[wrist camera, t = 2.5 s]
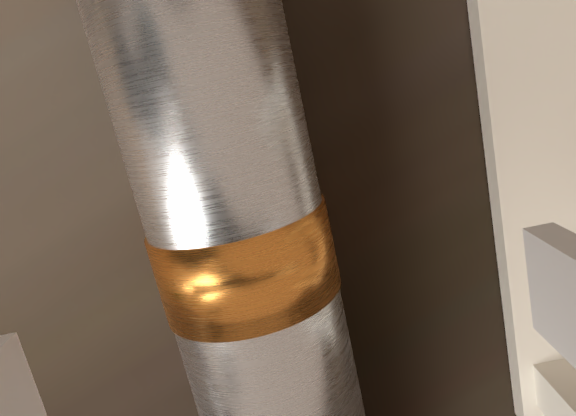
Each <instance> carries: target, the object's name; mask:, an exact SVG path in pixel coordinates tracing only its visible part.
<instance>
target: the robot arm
mask: <svg viewBox="0 0 576 416" xmlns="http://www.w3.org/2000/svg"><path fill="white" fill-rule="evenodd" d="M522 230H523V239H524V248H525V257H526V266H527V275H528V284H529V293H530V303H531V312H532V321H533V328H534V329H535V330H536V331H537V332H538V333H539V334H540V335H541V336H542V337H543V338H544V339H545V340H546V341H547V342H548V343H549V344H550V345H551V346H552V347H553V348H554V349H556V350H557V351H558V352H559V353H560V354H561V355H562V356H563V357H564V358H565V359H566V360H567V361H568V362H569V363H570V364H571V365H572V366H573V367H574V368H575V369H576V234H575V233H573V232H572V231H570V230H568V229H566V228H564V227H562V226H560V225H558V224H556V223H554V222H551V223H546V224H541V225H537V226H532V227H527V228H522ZM0 416H47V414H46V411H45V408H44V406H43V403H42V400H41V398H40V395H39V392H38V390H37V387H36V384H35V381H34V379H33V376H32V373H31V371H30V368H29V365H28V363H27V360H26V357H25V354H24V352H23V349H22V346H21V344H20V341H19V338H18V336H17V333H16V332H15V333H10V334H5V335H0Z"/></svg>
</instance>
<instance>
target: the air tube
mask: <svg viewBox="0 0 576 416" xmlns="http://www.w3.org/2000/svg"><path fill="white" fill-rule="evenodd" d="M76 2H77V6H78V9H79V12H80V16H81V19H82V22H83V26H84V29H85V33H86V36H87V39H88V43H89V46H90V49H91V53H92V56H93V60H94V63H95V66H96V70H97V73H98V76H99V80H100V83H101V87H102V90H103V93H104V97H105V100H106V103H107V107H108V110H109V113H110V117H111V120H112V124H113V127H114V130H115V134H116V137H117V140H118V144H119V147H120V151H121V154H122V157H123V161H124V164H125V167H126V171H127V174H128V177H129V181H130V184H131V188H132V191H133V194H134V198H135V201H136V204H137V208H138V211H139V215H140V218H141V221H142V225H143V228H144V231H145V235H146V237H145V240H144V243H145V246H146V249H147V253H148V256H149V259H150V263H151V266H152V269H153V273H154V276H155V279H156V283H157V286H158V289H159V293H160V296H161V300H162V303H163V306H164V310H165V313H166V316H167V320H168V323H169V326H170V328H171V330H172V331H173V332H174V333H175V336H176V339H177V343H178V346H179V349H180V353H181V356H182V359H183V363H184V366H185V370H186V373H187V376H188V380H189V383H190V386H191V390H192V393H193V397H194V400H195V403H196V407H197V410H198V413H199V416H365V411H364V406H363V401H362V396H361V391H360V386H359V381H358V376H357V371H356V366H355V361H354V356H353V351H352V346H351V341H350V336H349V331H348V326H347V322H346V317H345V312H344V307H343V302H342V297H341V292H340V287H341V278H340V273H339V268H338V263H337V258H336V253H335V248H334V243H333V238H332V233H331V228H330V223H329V218H328V213H327V208H326V203H325V198H324V196H323V195H322V194H321V193H320V188H319V183H318V178H317V173H316V168H315V163H314V158H313V153H312V148H311V143H310V139H309V134H308V129H307V124H306V119H305V114H304V109H303V104H302V99H301V94H300V89H299V84H298V79H297V74H296V69H295V64H294V59H293V54H292V50H291V45H290V40H289V35H288V30H287V25H286V20H285V15H284V10H283V5H282V0H76Z"/></svg>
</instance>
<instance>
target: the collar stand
mask: <svg viewBox="0 0 576 416" xmlns="http://www.w3.org/2000/svg"><path fill="white" fill-rule="evenodd" d="M467 8H468V16H469V25H470V33H471V42H472V50H473V59H474V68H475V76H476V85H477V93H478V102H479V110H480V119H481V127H482V136H483V145H484V153H485V162H486V170H487V179H488V187H489V196H490V204H491V213H492V222H493V230H494V239H495V247H496V256H497V264H498V273H499V281H500V290H501V299H502V307H503V316H504V324H505V333H506V341H507V350H508V358H509V367H510V376H511V384H512V393H513V401H514V410H515V414H516V415H517V416H576V369H575V368H574V367H573V366H572V365H571V364H570V363H569V362H568V361H567V360H566V359H565V358H564V357H563V356H562V355H561V354H560V353H559V352H558V351H557V350H556V349H554V348H553V347H552V346H551V345H550V344H549V343H548V342H547V341H546V340H545V339H544V338H543V337H542V336H541V335H540V334H539V333H538V332H537V331H536V330H535V329H534V328H533V321H532V312H531V303H530V293H529V284H528V275H527V266H526V257H525V248H524V239H523V230H522V228H527V227H532V226H537V225H541V224H546V223H551V222H554V223H556V224H558V225H560V226H562V227H564V228H566V229H568V230H570V231H572V232H573V233H575V234H576V0H467Z"/></svg>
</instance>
